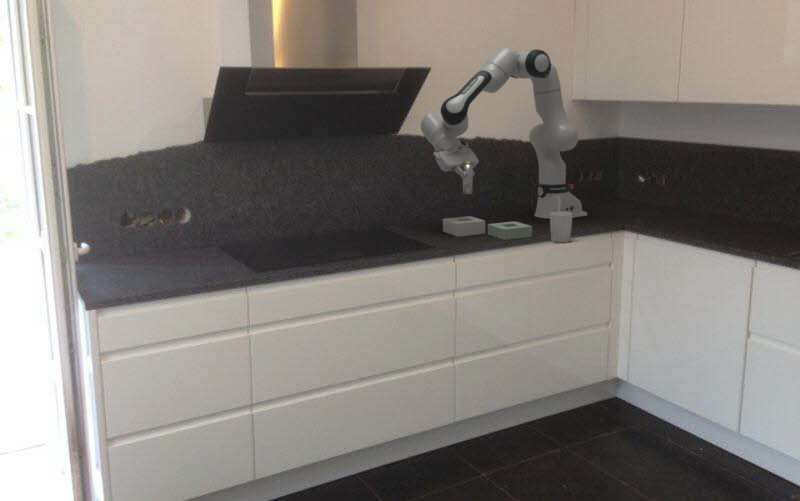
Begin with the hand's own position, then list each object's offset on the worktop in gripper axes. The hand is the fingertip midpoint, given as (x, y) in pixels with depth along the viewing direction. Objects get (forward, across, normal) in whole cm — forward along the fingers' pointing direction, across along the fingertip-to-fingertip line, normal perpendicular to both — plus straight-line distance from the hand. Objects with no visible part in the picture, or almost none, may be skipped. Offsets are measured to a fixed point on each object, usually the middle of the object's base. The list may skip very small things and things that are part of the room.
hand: (469, 176), depth 282 cm
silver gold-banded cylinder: (+4, 0, +5) cm, 7 cm away
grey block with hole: (+14, 0, +17) cm, 22 cm away
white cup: (+41, +8, -10) cm, 42 cm away
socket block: (+26, +5, +4) cm, 27 cm away
